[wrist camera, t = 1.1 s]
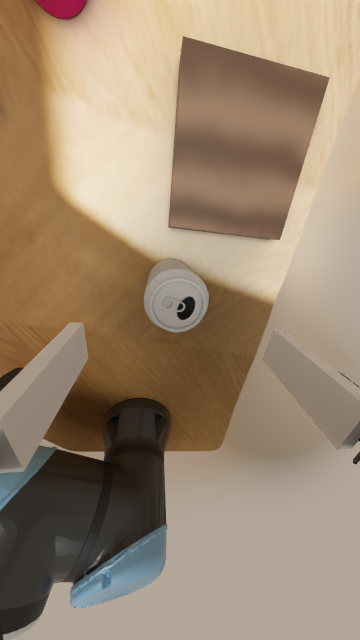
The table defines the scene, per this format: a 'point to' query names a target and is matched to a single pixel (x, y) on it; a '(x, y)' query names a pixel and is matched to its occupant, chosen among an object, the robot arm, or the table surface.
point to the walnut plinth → (239, 140)
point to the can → (175, 296)
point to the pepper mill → (62, 7)
